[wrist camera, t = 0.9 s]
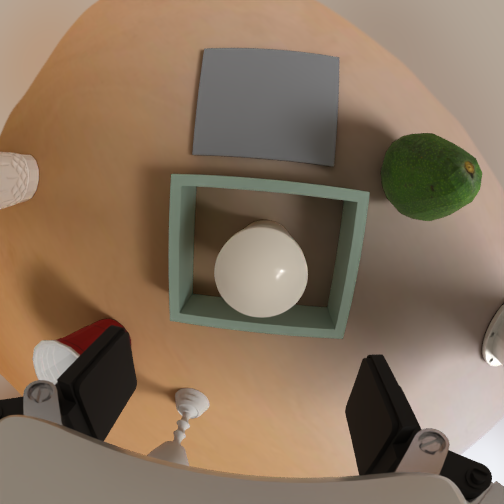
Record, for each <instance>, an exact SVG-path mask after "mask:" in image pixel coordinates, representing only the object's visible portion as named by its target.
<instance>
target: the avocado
mask: <svg viewBox="0 0 504 504" xmlns="http://www.w3.org/2000/svg"><path fill="white" fill-rule="evenodd" d="M481 178H482V171H481V169H480V167H479V165H478V163H477V160H476V158H474V157H473V156H472V155H470V154H469V153H467V152H466V151H465V150H463V149H462V148H460V147H458V146H457V145H455V144H453V143H451V142H449V141H447V140H445V139H443V138H441V137H439V136H437V135H435V134H432V133H421V134H410V135H406V136H403V137H401V138H399V139H398V140H396V141H394V142H393V143H392V144H391V146H390V147H389V149H388V150H387V152H386V154H385V157H384V161H383V164H382V168H381V180H382V187H383V189H384V192H385V194H386V197H387V199H388V200H389V201H390V202H391V203H392V204H393V205H394V207H395V208H396V209H397V210H398V211H399V212H400V213H401V214H403V215H406V216H408V217H410V218H412V219H418V220H423V221H432V220H435V219H439V218H442V217H445V216H448V215H450V214H452V213H454V212H455V211H457V210H459V209H460V208H462V207H464V206H465V205H467V204H469V203H470V202H472V201H473V199H474V198H475V196H476V195H477V193H478V192H479V190H480V186H481Z"/></svg>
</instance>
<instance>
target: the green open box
mask: <svg viewBox="0 0 504 504" xmlns="http://www.w3.org/2000/svg"><path fill="white" fill-rule="evenodd" d="M196 187H214V188H229V189H242V190H255V191H266V192H277V193H287V194H296V195H305V196H314V197H322V198H330V199H338V200H344V203H343V212H342V220H341V227H340V235H339V242H338V248H337V255H336V261H335V267H334V273H333V279H332V285H331V290H330V296H329V301H328V306H327V307H316V306H303V305H294V306H292V307H291V308H290V309H288V310H287V311H285V312H283V313H281V314H279V315H276V316H271V317H263V318H262V317H252V316H248V315H245V314H243V313H240V312H238V311H237V310H235V309H234V308H232V307H231V306H230V305H229V304H228V303H227V302H226V301H225V300H224V299H223V298H222V297H216V296H207V295H200V294H193V255H194V226H195V204H196ZM369 194H370V192H366V191H360V190H355V189H348V188H341V187H333V186H326V185H318V184H310V183H301V182H292V181H282V180H271V179H260V178H248V177H234V176H218V175H198V174H171V186H170V209H169V306H170V321H175V322H181V323H188V324H194V325H201V326H208V327H216V328H223V329H231V330H239V331H248V332H258V333H267V334H278V335H290V336H303V337H318V338H336V339H343V336H344V332H345V328H346V324H347V320H348V316H349V311H350V307H351V302H352V298H353V293H354V288H355V283H356V278H357V273H358V268H359V262H360V257H361V251H362V245H363V239H364V232H365V225H366V218H367V211H368V203H369Z"/></svg>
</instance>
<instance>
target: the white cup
mask: <svg viewBox="0 0 504 504" xmlns="http://www.w3.org/2000/svg"><path fill="white" fill-rule="evenodd" d="M38 182H39V169H38V165H37V162H36V160H35V159H34V158H33V157H32V156H31V155H27V154H17V153H11V152H0V209H3V208H6V207H9V206H12V205H15V204H17V203H21V202H25V201H27V200H29V199H31V198H32V197H33V195H34V193H35V192H36V190H37V186H38Z"/></svg>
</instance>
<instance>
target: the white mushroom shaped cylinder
mask: <svg viewBox="0 0 504 504" xmlns="http://www.w3.org/2000/svg"><path fill="white" fill-rule="evenodd" d="M214 276H215V282H216V286H217V288H218V291H219V293H220V294H221V296H222V298H223V299H224V300H225V301H226V302H227V303H228V304H229V305H230V306H231V307H232V308H234V309H235V310H237V311H238V312H240V313H243V314H245V315H248V316H252V317H262V318H263V317H271V316H276V315H279V314H281V313H283V312H285V311H287V310H288V309H290V308H291V307H292V306H294V305H295V304H296V303H297V302H298V300H299V299H300V298H301V296H302V294H303V292H304V290H305V288H306V284H307V279H308V268H307V263H306V260H305V257H304V254H303V252H302V250H301V248H300V246H299V245H298V243H297V242H296V241H295V240H294V238H293V237H291V236H290V234H289V232H288V231H287V230H286V229H285V228H284V227H283V226H282V225H280V224H279V223H277V222H274V221H270V220H259V221H256V222H253V223H251V224H249V225H248V226H247V227H246V228H245V229H242V230H241V231H239V232H237V233H236V234H234V235H233V236H232V237H231V238H230V239H229V240H228V241H227V242H226V244H225V245H224V246H223V248H222V249H221V251H220V252H219V254H218V257H217V259H216V263H215V269H214Z"/></svg>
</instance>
